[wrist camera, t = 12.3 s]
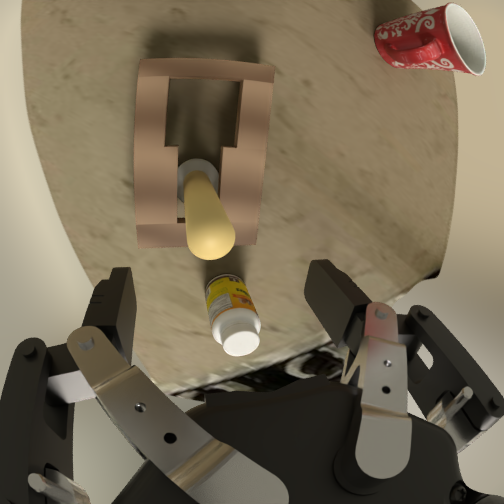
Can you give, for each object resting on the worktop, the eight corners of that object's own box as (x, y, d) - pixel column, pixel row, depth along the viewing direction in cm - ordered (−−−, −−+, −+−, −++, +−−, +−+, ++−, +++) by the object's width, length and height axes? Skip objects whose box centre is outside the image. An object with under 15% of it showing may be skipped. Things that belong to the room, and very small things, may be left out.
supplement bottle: (252, 293, 37) (275, 346, 29) (217, 312, 37) (231, 367, 29) (233, 264, 34) (253, 316, 26) (196, 285, 35) (205, 341, 26)
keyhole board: (146, 69, 21) (140, 59, 17) (259, 74, 24) (275, 66, 20) (143, 228, 29) (138, 248, 25) (245, 226, 32) (255, 244, 28)
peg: (173, 158, 27) (166, 196, 14) (220, 158, 28) (257, 196, 15) (173, 202, 29) (169, 277, 16) (217, 202, 30) (249, 273, 17)
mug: (395, 13, 22) (465, 0, 10) (421, 64, 27) (493, 67, 15) (338, 32, 23) (416, 8, 12) (372, 91, 28) (454, 95, 16)
